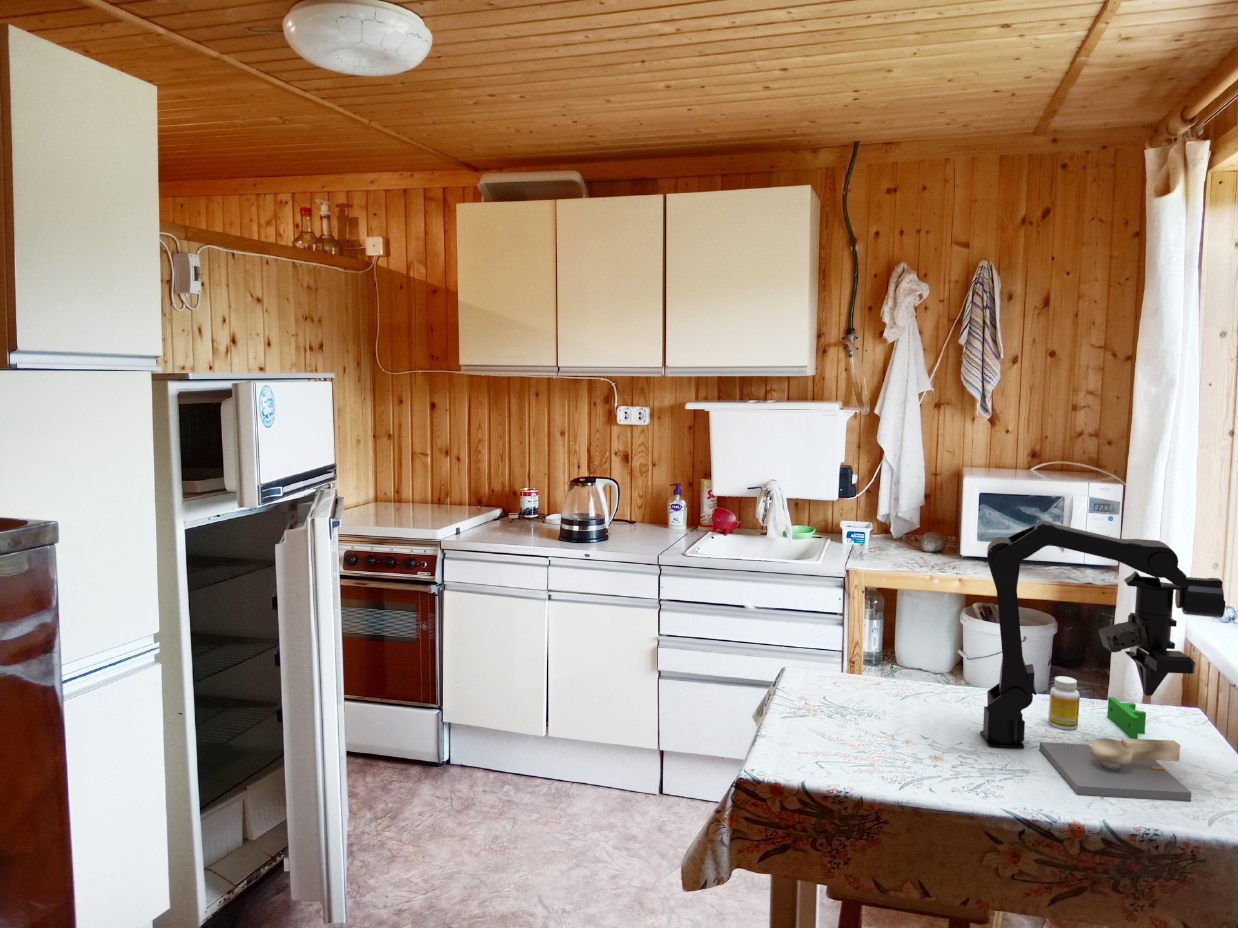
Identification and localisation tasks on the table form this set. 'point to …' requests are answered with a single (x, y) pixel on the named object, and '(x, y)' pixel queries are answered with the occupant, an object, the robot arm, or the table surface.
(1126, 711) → the pipe clamp
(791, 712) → the table surface
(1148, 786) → the thin gray panel
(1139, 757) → the beige long-handled part
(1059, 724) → the supplement bottle
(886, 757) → the table surface
